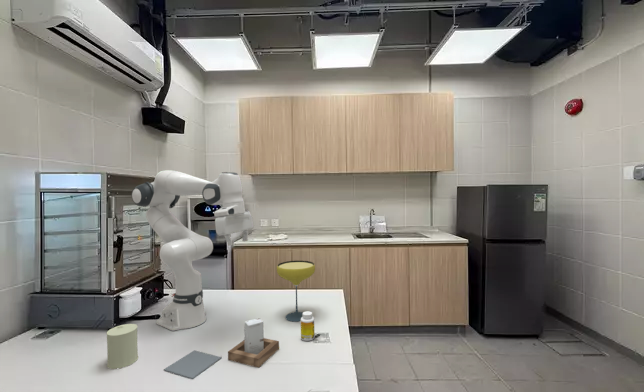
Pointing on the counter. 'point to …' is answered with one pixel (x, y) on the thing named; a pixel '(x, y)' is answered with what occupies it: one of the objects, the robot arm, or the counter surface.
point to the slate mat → (192, 364)
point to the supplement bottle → (307, 326)
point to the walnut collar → (252, 359)
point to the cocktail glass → (295, 279)
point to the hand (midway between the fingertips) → (238, 243)
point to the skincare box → (254, 336)
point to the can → (122, 346)
